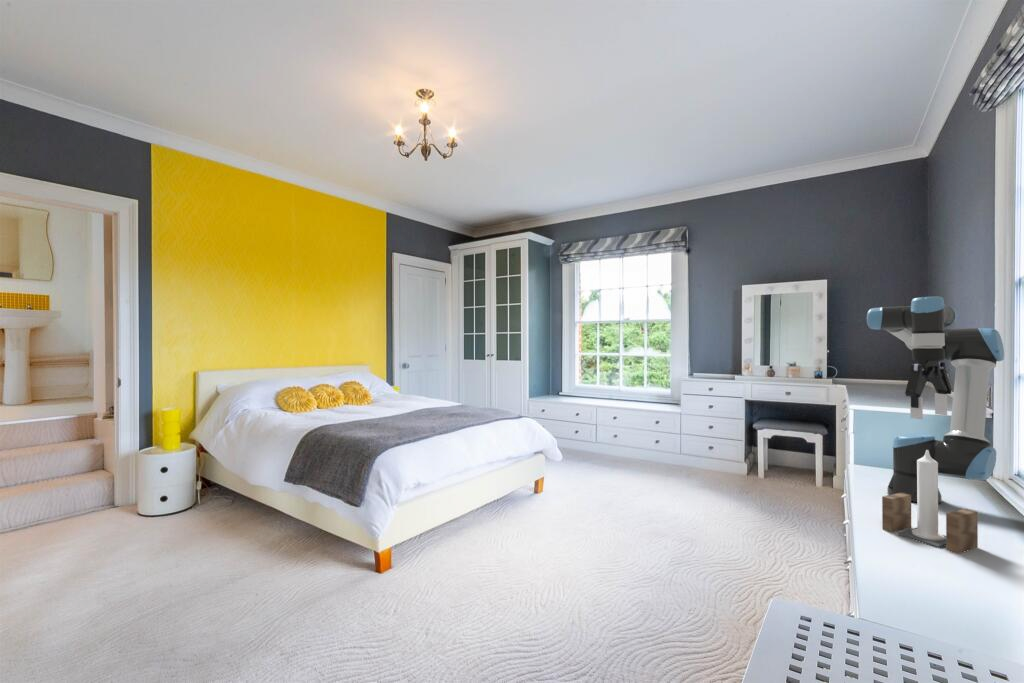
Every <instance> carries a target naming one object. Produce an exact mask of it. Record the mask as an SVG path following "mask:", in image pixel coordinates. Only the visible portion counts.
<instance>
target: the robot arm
mask: <svg viewBox="0 0 1024 683" xmlns="http://www.w3.org/2000/svg"><path fill="white" fill-rule="evenodd" d="M957 319H958V312H957V310H956V309H955V308H954V307H953V306H951V305H948V304H945V301H944V297H942V296H921V297H915V298H912V300H911V303H910V305H905V306H881V307H872V308H869V310H868V311H867V314H866V324H867V326H868V328H869V329H870V330H877V331H878V330H879V331H880V330H884V331H887V332H888V333H890V334H891V335H893V336H894V337H896V338H897V339H899V340H900V341H902V342H904V344H905V346H906V347H907V348H908V349H909V350H910V351H911V359H912V360H913V361H917V363H911V365H910V373H909V376H908V379H907V380H908V381H907V384H906V388H905V392H904V393H905V397H909V401H910V402H909V404H910V419H915V420H923V419H924V418H923V416H924V414H923V412H924V411H923V408H924V407H923V404H924V403H923V397H922V393H923V391H924V388H925V387H926V384H927V381H930V382H931V384H932V386H933V387H934V389H935V393H934V413H935V414H934V415H937V416H938V415H940V416H948V395H951V394H952V388H951V386H952V385H951V383H950V380H949V377H948V373H947V370H946V363H945V362H943V361H950V364H951V366H953V367H954V368H955V375H954V376H955V377H954V384H953V396H952V406H951V407H952V408H951V416H950V417H951V418H950V427H949V432H947V433H945V434H944V435H943V438H942V440H938V439H937V440H936V437H935V435H933V434H924V433H923V434H920V433H919V434H918V433H915V434H911V433H910V434H907V433H906V434H899V435H896V436H894V437H893V444H892V456H893V458H892V463H893V466H892V467H893V469H892V471H893V472H892V476H891V477H890V478H891V479H890V481H889V483H888V485H887V492H886V493H887V494H888V495H892V494H897V493H905V494H909V495H911V501H913V502H912V503H916V502H917V460H918V459H920V458H922V457H924V455H925V452H926V450H929V454H930V456H931V458H932V459H934V460H935V461H936V462H938V475H939V474H940V475H945V476H950V477H957V478H962V479H963V478H964V479H966V480H975V481H986V480H988V479H990V478H991V476H992V474H993V472H994V470H995V467H996V462H997V450H996V448H995V447H992V446H991V442H990V441H989V440H988V439H987V438H986V437H985V431H986V430H985V429H986V418H987V417H986V416H987V407H988V406H987V404H988V393H989V392H988V391H989V383H990V381H989V379H990V371H991V370H993V369H995V368H996V367H997V362H1001V361H1004V359H1005V349H1004V344H1003V340H1002V337H1001V334H1000V332H999V330H997V329H995V328H991V327H990V328H989V327H988V328H987V327H986V328H985V327H984V328H983V327H982V328H981V327H978V328H975V327H973V328H972V327H971V328H948V327H951V326H953V324H954V323H956V322H957ZM940 361H941V362H940ZM941 501H942V494H941V491H940V488H939V487H938V504H941V503H942V502H941ZM940 502H941V503H940Z"/></svg>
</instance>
